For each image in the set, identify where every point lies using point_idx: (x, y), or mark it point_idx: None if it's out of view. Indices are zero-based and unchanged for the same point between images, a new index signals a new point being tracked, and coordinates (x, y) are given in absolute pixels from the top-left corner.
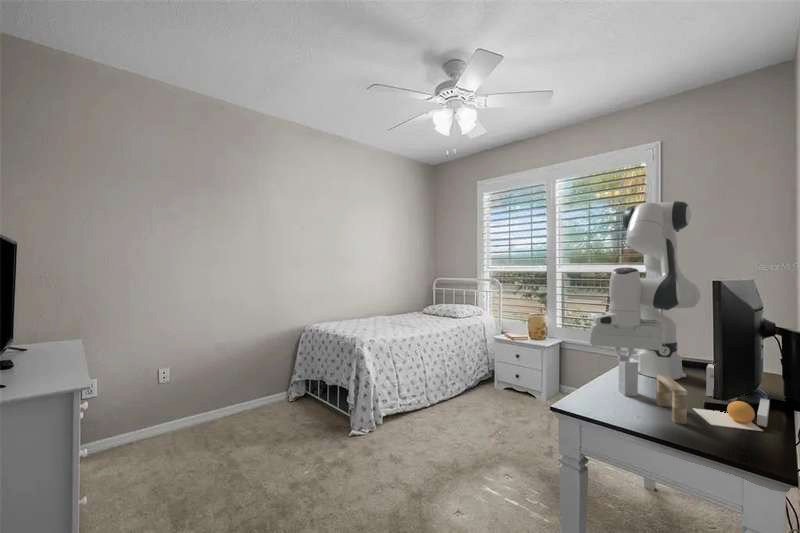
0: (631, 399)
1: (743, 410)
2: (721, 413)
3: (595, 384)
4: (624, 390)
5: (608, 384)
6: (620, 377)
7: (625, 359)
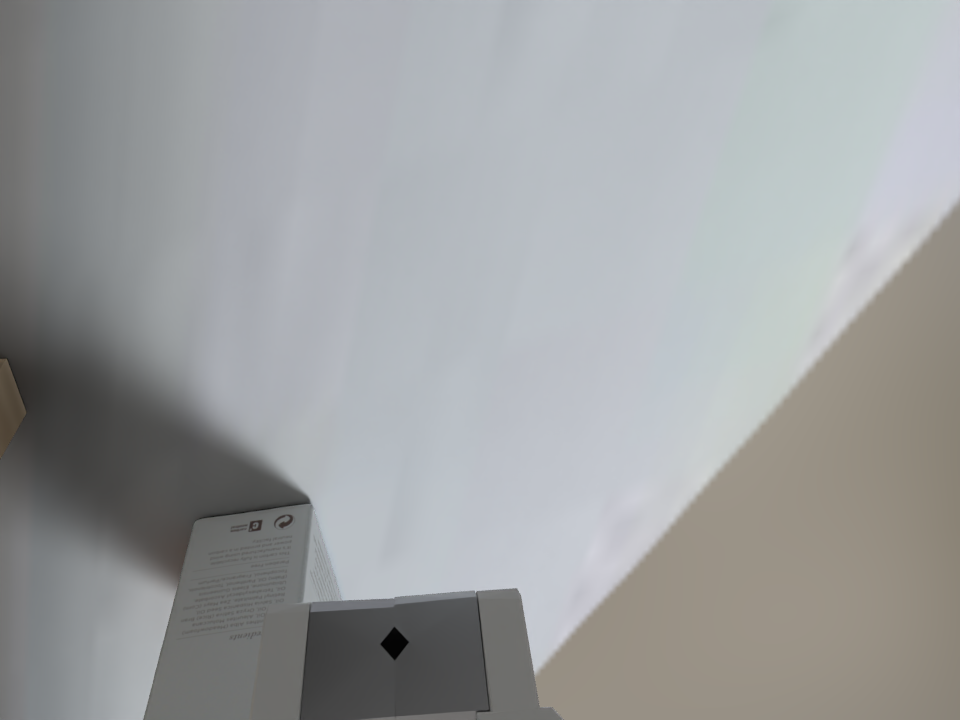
0: (261, 433)
1: None
2: None
3: None
4: (310, 543)
5: None
6: None
7: (366, 640)
